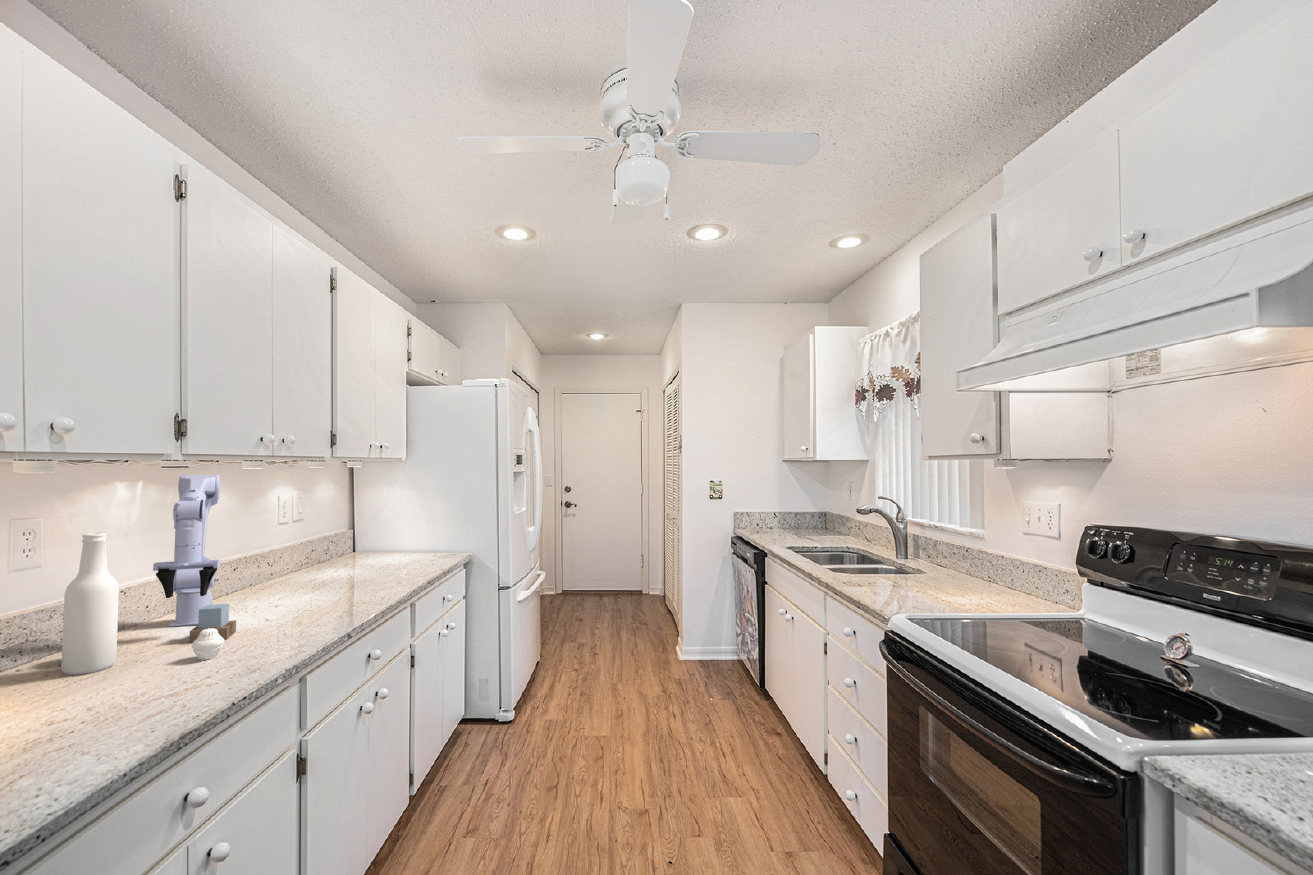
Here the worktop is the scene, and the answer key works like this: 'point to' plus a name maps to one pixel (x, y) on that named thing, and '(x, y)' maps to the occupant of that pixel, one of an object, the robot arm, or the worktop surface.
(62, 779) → the worktop surface
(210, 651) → the muffin
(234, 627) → the walnut base
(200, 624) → the blue cube
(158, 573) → the robot arm
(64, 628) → the white bottle
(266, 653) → the worktop surface
